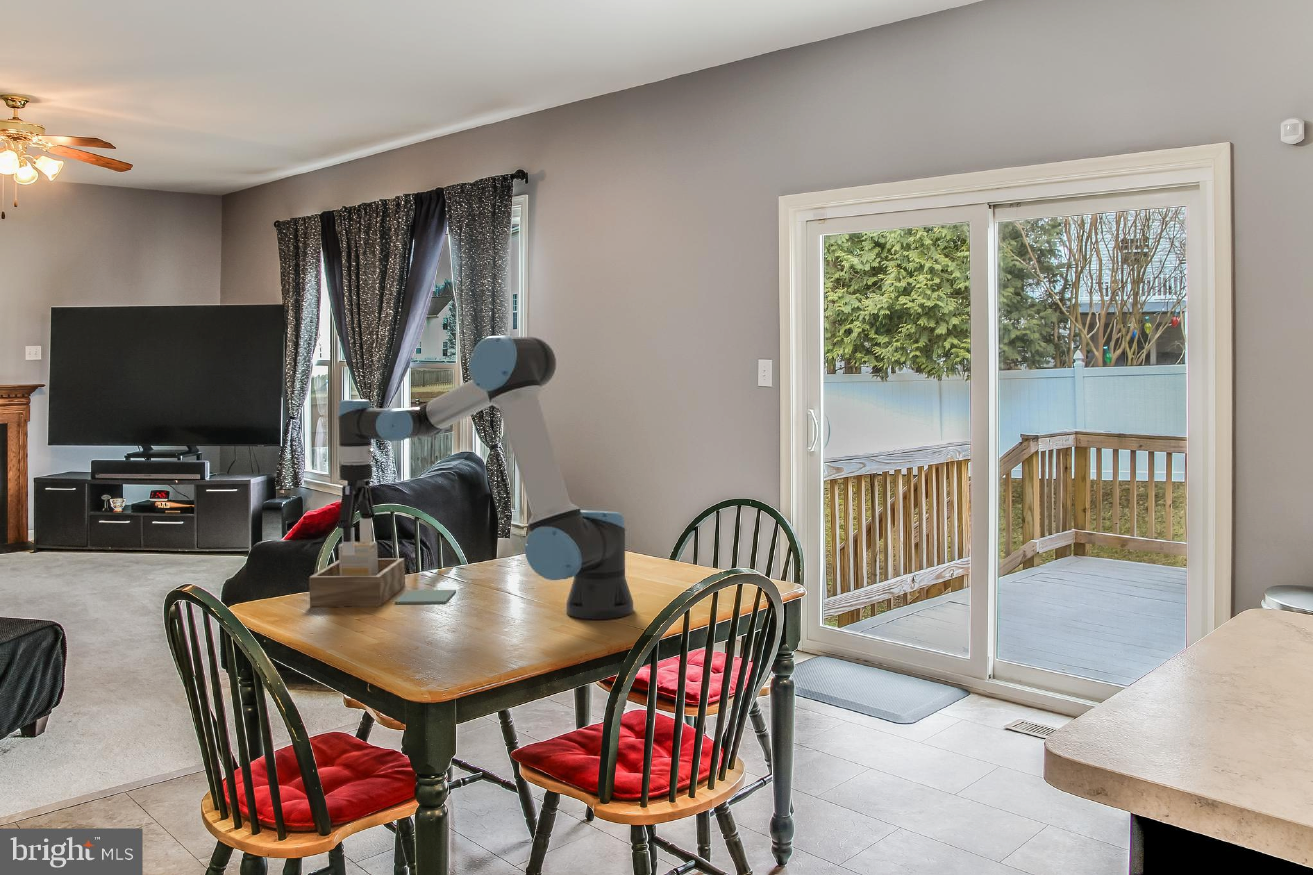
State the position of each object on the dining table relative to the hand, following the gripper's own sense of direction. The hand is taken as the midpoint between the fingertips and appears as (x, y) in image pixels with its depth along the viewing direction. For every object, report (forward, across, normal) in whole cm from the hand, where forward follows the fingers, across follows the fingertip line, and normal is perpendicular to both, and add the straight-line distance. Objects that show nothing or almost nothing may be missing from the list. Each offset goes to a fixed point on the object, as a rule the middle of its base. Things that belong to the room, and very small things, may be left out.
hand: (357, 549), depth 237 cm
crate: (+11, 0, 0) cm, 11 cm away
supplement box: (+12, 0, 0) cm, 12 cm away
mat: (+11, -3, -17) cm, 21 cm away
